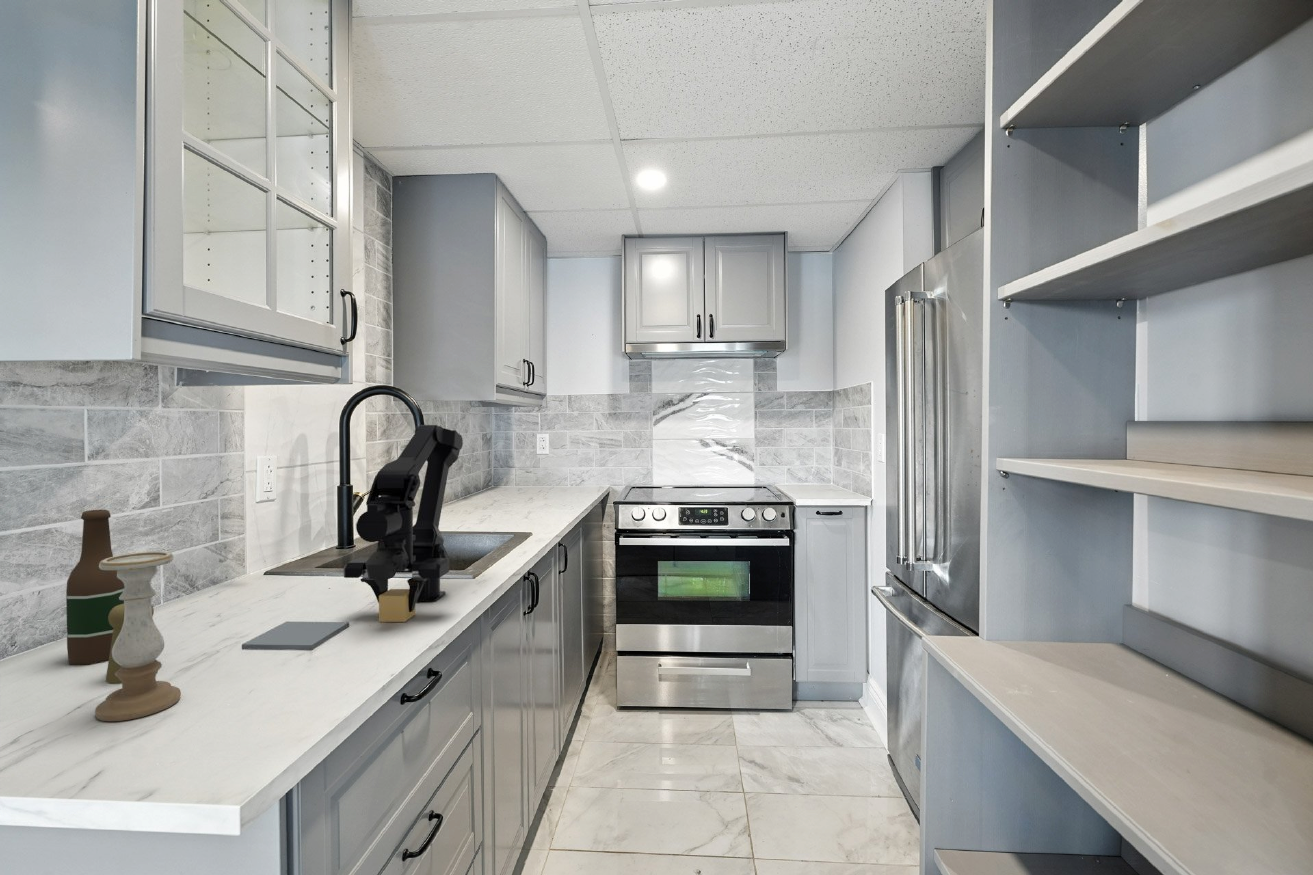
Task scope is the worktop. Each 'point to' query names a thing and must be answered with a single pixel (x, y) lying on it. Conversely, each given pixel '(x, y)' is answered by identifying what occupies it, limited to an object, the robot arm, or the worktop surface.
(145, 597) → the candle holder
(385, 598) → the ochre cube
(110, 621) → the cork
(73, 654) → the beer bottle
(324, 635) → the grey mat
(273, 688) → the worktop surface
